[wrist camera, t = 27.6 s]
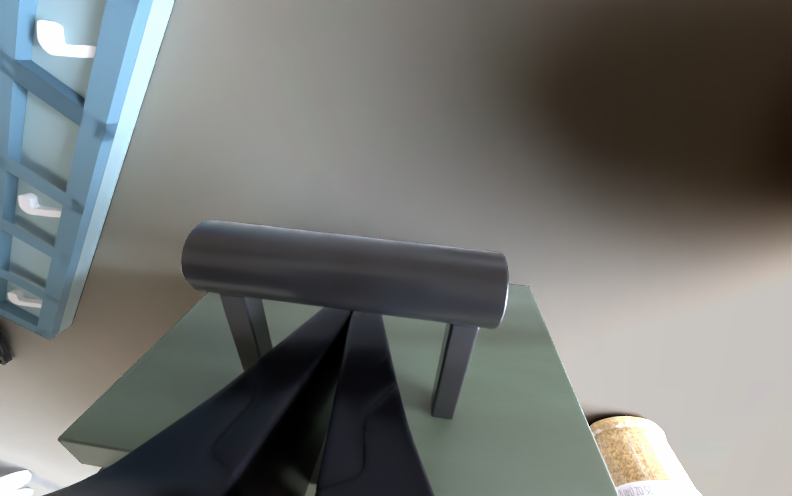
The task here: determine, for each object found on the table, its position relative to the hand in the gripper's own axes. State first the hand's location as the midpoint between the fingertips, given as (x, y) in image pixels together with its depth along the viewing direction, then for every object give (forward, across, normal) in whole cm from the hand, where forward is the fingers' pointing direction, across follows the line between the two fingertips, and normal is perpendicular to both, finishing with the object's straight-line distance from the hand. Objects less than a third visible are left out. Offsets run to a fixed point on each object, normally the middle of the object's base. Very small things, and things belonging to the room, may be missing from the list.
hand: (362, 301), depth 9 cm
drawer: (+4, 0, +6) cm, 8 cm away
